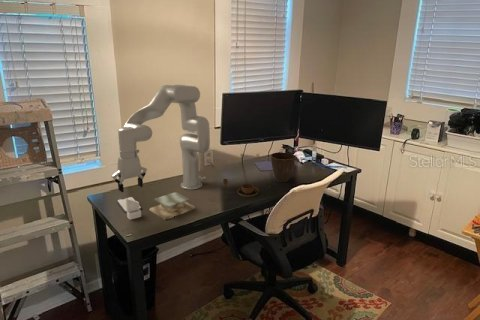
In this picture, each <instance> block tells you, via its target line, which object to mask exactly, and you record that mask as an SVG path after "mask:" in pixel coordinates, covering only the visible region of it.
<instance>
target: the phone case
mask: <svg viewBox="0 0 480 320" xmlns="http://www.w3.org/2000/svg"><path fill="white" fill-rule="evenodd" d="M125 198H127V199H131V200H134V201H137V200H136V199H135V197H132V196H128V197H125ZM125 198H119V199H117V200H116V203H117V205H118V206H119V208H120V209H121V211H123V212H124V214H127V209H126V199H125ZM139 209H140V210H142V206H141V205H140V204H139Z"/></svg>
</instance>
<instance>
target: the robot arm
mask: <svg viewBox="0 0 480 320" xmlns="http://www.w3.org/2000/svg"><path fill="white" fill-rule="evenodd" d="M200 97H201V92H200V89H199V88H198V87H197V86H195V85H185V84H173V85H172V84H170V85H169V84H166V85H165V84H164V85H162V86H161V87H160V88H159V89H158V90H157V91H156V93H155V94H154V96H153V97H152V98H151V100H150V101H149V103H148V104H147V105H145V106H144V107H143V106H142V108H140V109H138V110H137V111H135V112H133V114H131V115H130V116H129V118H128V119H127V121H126V122H125V124H124V125H123V127H120V128H119V129H118V131H117V132H118V146H119V157H118V159H117V168H116V169H117V171H116V172H114V173H113V174H112V175H111V178H112V180H113V182H115V183H117V187H118V188H117V189H118V191H119V192H120V193H124V192H125V190H124V181H125V180H129V179H133V178H137V186H138V187H140V188H143V185H144V182H143V181H144V178H145V176H146V174H147V171H148V168H146V167H143V166H142V165H141V160H140V156H139V155H138V154H139V153H140V150H139V149H137V143H139V142H146V141H149V140H150V139H151V138H152V136H153V130H152V128H151V127H150V126H148V125H146V124H143V123H146V122H147V121H151V120H154V119H158V118H161V117H162V116H163V115H164V113H166V112H167V109H168V107H169V106H170V105H172V104H178V106H179V109H180V119H181V128H182V130H183V131H185V132H186V133H184V134H182V135H181V137H180V139H179V144H180V145H179V147H180V149H181V157H182V182H181V183H180V187H181V188H182V189H183V190H189V191H190V190H199V189H200V188H202V187H203V182H202V181H205V180H206V179H207V177H206V176H203V177H202V176H201V175H200V156H199V153H202V154H203V153H207V152H208V151H209V149H210V145H211V142H210V141H211V138H210V136H211V135H210V134H211V133H210V129H211V128H210V122H209V120H208V119H207V118H206V117H204V116H201V115H200V116H199V115H197V114H198V113H197V107H196V105H197V104H195V103H197V102H198V101H199V100H200ZM117 177H118V178H117Z"/></svg>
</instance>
